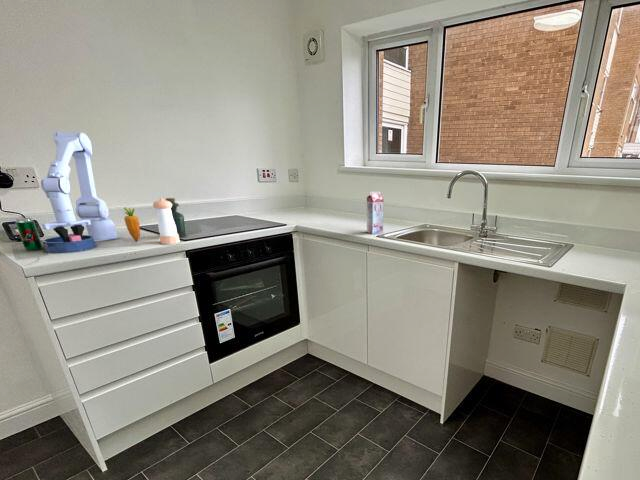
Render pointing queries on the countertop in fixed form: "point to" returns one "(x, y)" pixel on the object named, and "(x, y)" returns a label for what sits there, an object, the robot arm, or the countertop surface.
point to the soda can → (29, 234)
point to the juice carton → (375, 213)
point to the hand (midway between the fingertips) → (74, 244)
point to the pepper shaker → (166, 222)
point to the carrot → (132, 224)
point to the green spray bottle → (177, 218)
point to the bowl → (68, 244)
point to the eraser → (74, 237)
